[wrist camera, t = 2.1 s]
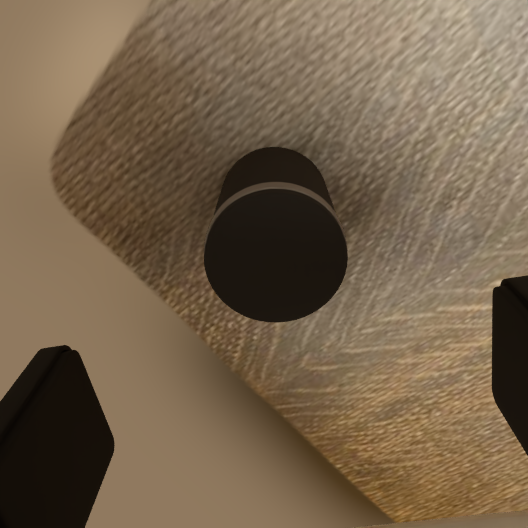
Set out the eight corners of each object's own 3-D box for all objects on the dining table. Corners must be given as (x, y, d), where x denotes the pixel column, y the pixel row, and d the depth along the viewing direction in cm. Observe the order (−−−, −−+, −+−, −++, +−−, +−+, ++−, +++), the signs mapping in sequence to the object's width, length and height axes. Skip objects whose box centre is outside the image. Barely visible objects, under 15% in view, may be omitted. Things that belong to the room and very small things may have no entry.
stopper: (199, 212, 21) (174, 278, 15) (259, 122, 19) (256, 160, 14) (286, 267, 22) (292, 347, 16) (350, 186, 20) (380, 245, 15)
